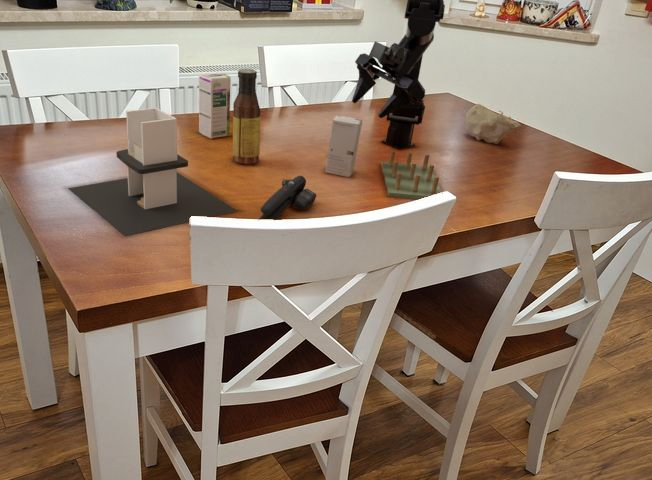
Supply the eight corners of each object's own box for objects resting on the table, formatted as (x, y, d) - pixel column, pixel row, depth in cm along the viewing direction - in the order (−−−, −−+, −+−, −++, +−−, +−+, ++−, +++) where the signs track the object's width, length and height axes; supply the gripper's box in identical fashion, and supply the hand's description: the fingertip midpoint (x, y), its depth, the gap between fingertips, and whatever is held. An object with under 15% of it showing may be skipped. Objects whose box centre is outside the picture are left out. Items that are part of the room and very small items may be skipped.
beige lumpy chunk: (456, 137, 189) (458, 112, 174) (472, 117, 188) (475, 91, 174) (499, 166, 185) (505, 143, 170) (516, 145, 184) (523, 121, 170)
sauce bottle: (263, 160, 153) (269, 71, 142) (250, 167, 148) (255, 75, 137) (239, 154, 155) (243, 65, 144) (226, 161, 151) (229, 70, 139)
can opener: (290, 195, 137) (292, 168, 134) (319, 203, 134) (322, 177, 131) (244, 221, 124) (246, 193, 121) (276, 231, 121) (278, 203, 118)
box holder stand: (67, 188, 131) (58, 104, 121) (173, 170, 144) (172, 92, 134) (125, 236, 115) (119, 143, 106) (238, 210, 128) (242, 126, 119)
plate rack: (380, 165, 157) (384, 147, 154) (430, 170, 157) (434, 151, 154) (387, 196, 140) (391, 176, 138) (443, 202, 140) (448, 181, 138)
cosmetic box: (324, 173, 149) (331, 119, 142) (329, 167, 153) (336, 114, 146) (350, 178, 148) (358, 123, 141) (354, 171, 152) (362, 118, 145)
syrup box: (211, 139, 163) (212, 78, 155) (198, 132, 167) (198, 72, 159) (229, 136, 166) (231, 76, 158) (216, 129, 170) (217, 70, 162)
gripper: (366, 14, 144) (323, 75, 147) (425, 40, 133) (377, 105, 136) (388, 45, 152) (346, 102, 156) (445, 71, 142) (399, 132, 145)
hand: (366, 109), depth 148 cm, fingers open, 9 cm apart
